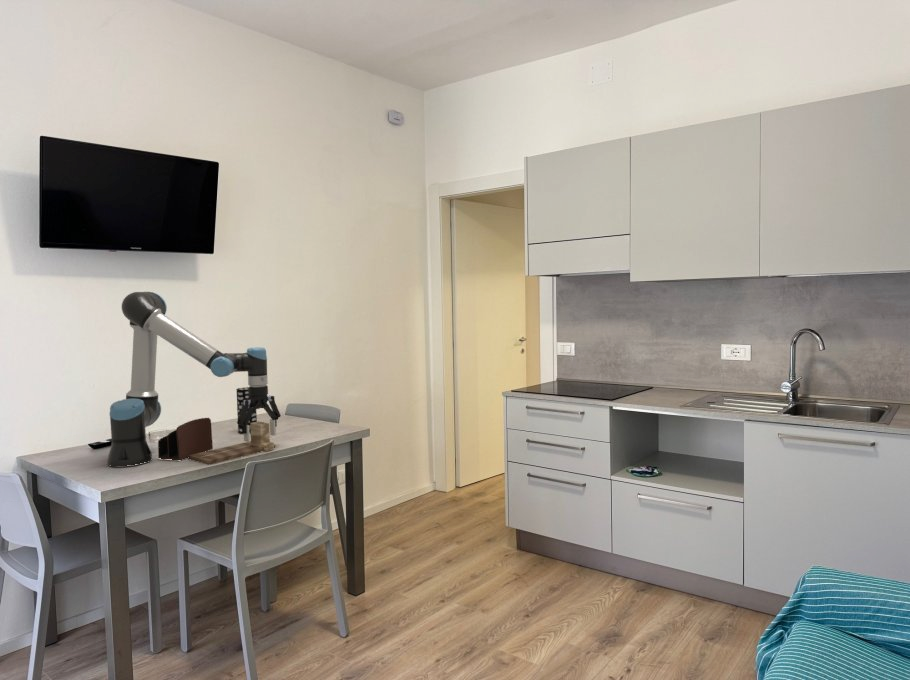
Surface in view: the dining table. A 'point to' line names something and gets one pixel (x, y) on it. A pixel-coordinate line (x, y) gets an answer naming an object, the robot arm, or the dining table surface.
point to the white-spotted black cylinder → (241, 395)
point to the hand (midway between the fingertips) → (260, 438)
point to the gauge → (261, 435)
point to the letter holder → (186, 440)
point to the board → (226, 453)
